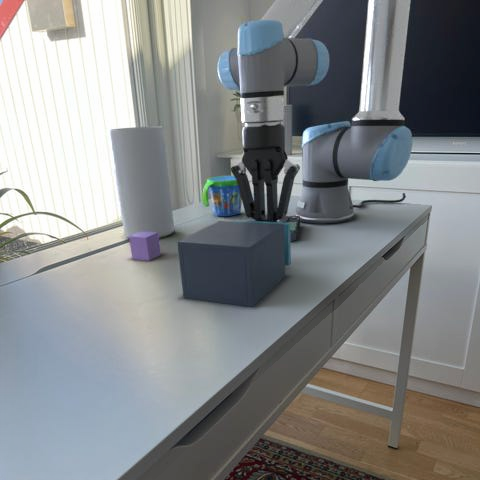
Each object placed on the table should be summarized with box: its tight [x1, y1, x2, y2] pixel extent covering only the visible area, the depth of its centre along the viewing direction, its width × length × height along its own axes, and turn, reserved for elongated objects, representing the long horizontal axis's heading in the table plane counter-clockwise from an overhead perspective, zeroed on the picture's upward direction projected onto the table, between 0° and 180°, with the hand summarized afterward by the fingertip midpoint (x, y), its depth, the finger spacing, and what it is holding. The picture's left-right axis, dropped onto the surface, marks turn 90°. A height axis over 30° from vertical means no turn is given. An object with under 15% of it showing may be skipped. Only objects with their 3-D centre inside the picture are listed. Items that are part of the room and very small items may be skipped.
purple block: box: [128, 231, 162, 262], centre depth 102 cm, size 4×4×5 cm
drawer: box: [230, 219, 292, 267], centre depth 87 cm, size 19×11×8 cm, turn 155°
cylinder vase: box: [107, 125, 175, 239], centre depth 116 cm, size 12×12×25 cm
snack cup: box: [201, 175, 243, 217], centre depth 136 cm, size 16×10×10 cm
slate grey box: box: [176, 220, 286, 308], centre depth 81 cm, size 15×13×10 cm
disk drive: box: [264, 215, 301, 242], centre depth 114 cm, size 10×3×15 cm
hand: (267, 253), depth 94 cm, fingers closed
